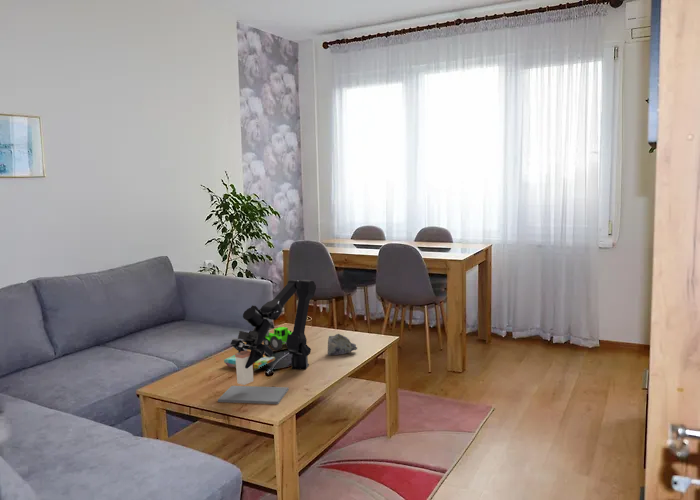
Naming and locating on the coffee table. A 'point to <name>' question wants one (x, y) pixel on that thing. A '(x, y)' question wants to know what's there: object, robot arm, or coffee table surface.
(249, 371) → the card box
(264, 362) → the puzzle game
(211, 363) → the coffee table surface
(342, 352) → the mineral rock
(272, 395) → the mat
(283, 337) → the toy tractor
